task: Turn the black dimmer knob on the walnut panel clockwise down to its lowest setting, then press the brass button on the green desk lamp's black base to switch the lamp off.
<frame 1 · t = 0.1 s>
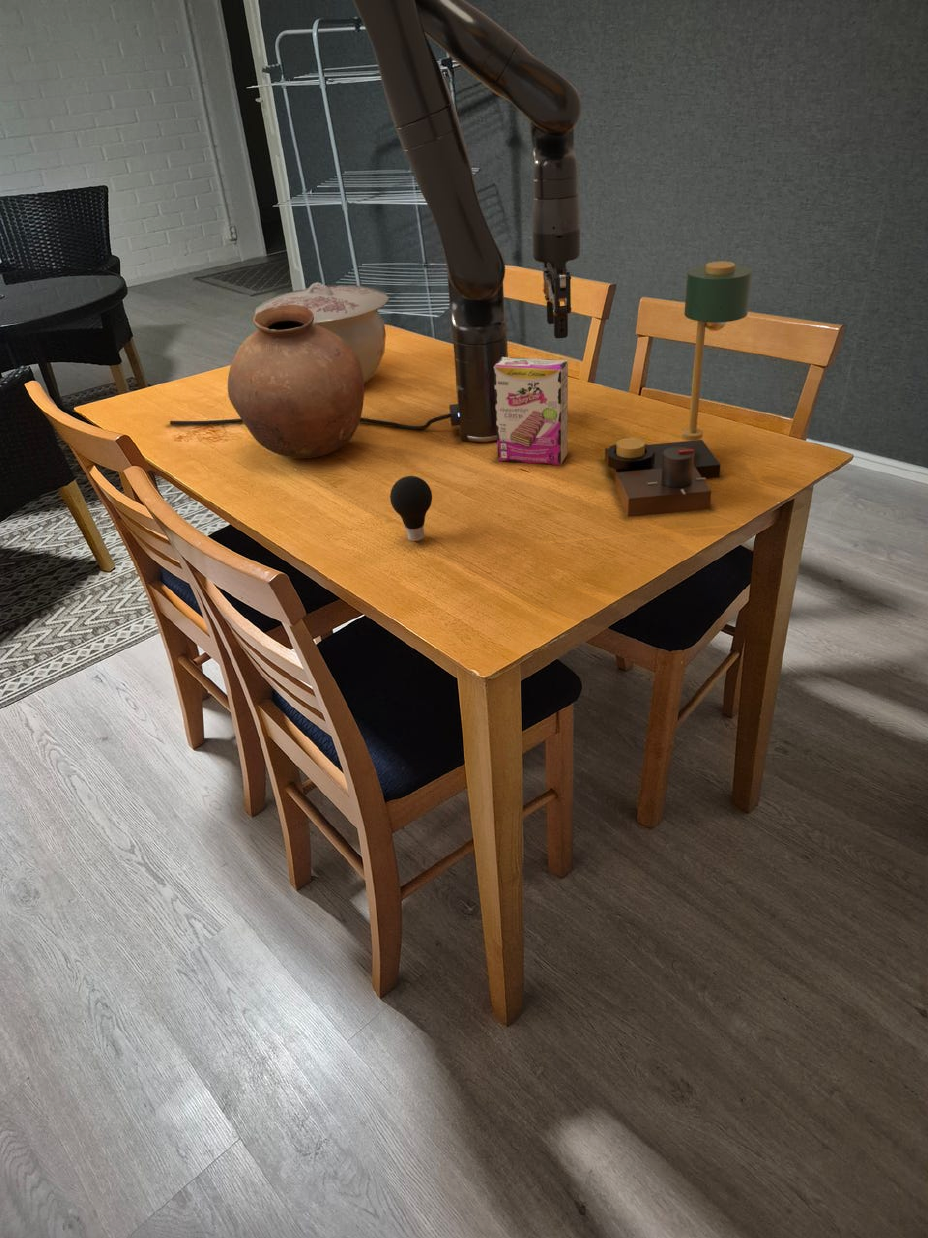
hand: (557, 330, 144), 17 cm above the table, tool pointing down, fingers open, 8 cm apart
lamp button: (630, 448, 133), point 4 cm above the table, slide at 0.1 cm
lamp base: (660, 468, 136), on the table
dimmer panel: (661, 499, 127), on the table
pottery: (309, 452, 153), on the table
desk lamp: (690, 459, 138), resting on lamp base
chamber pot: (334, 382, 183), on the table
dimmer knob: (677, 466, 124), point 5 cm above the table, hinge at 0.0°
candy bar box: (533, 459, 143), on the table
light bulb: (416, 542, 122), on the table
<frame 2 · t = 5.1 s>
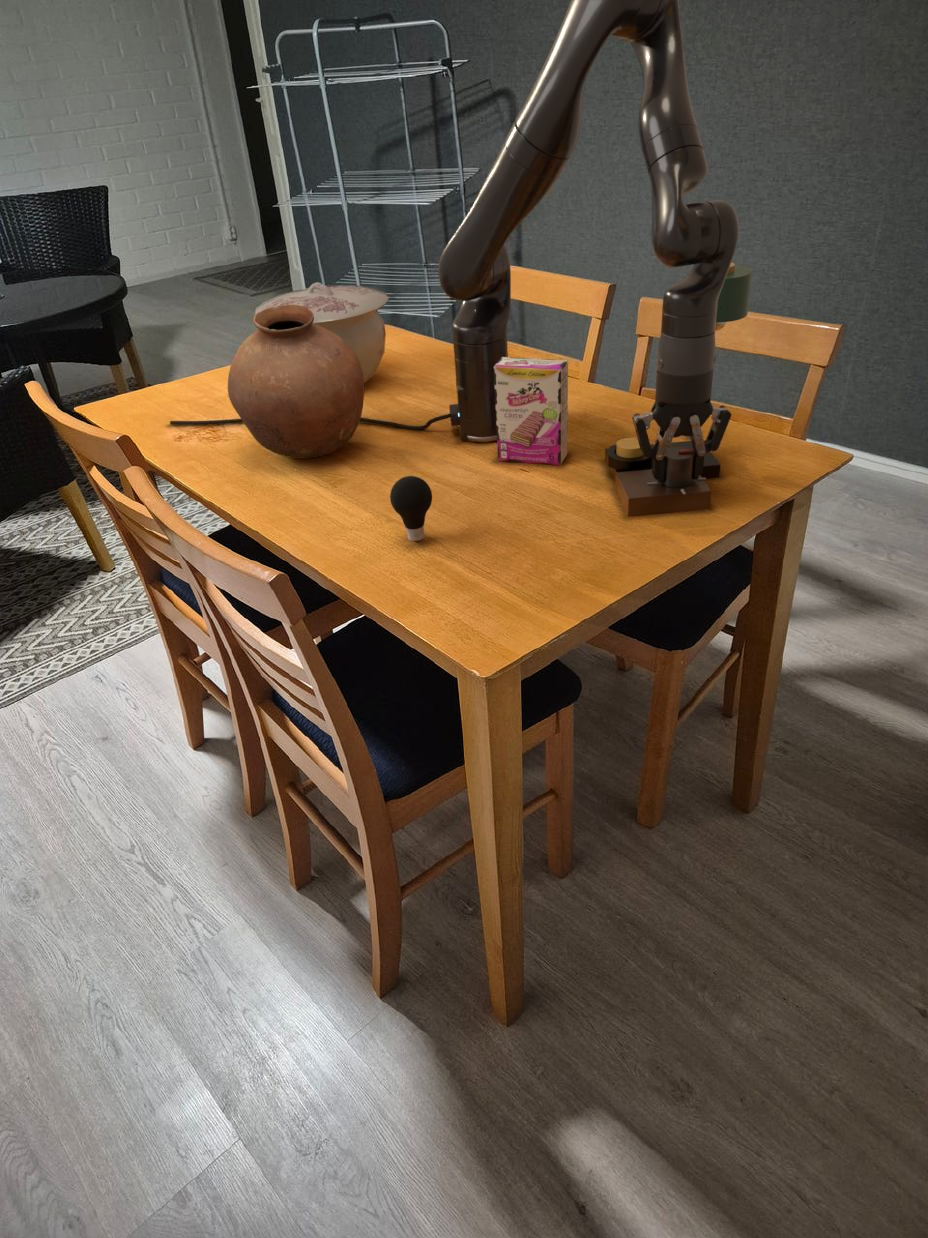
hand: (676, 478, 125), 4 cm above the table, tool pointing down, fingers closed on dimmer knob, 4 cm apart
dimmer knob: (677, 466, 124), point 5 cm above the table, hinge at 0.1°, touching gripper
everything else where it was.
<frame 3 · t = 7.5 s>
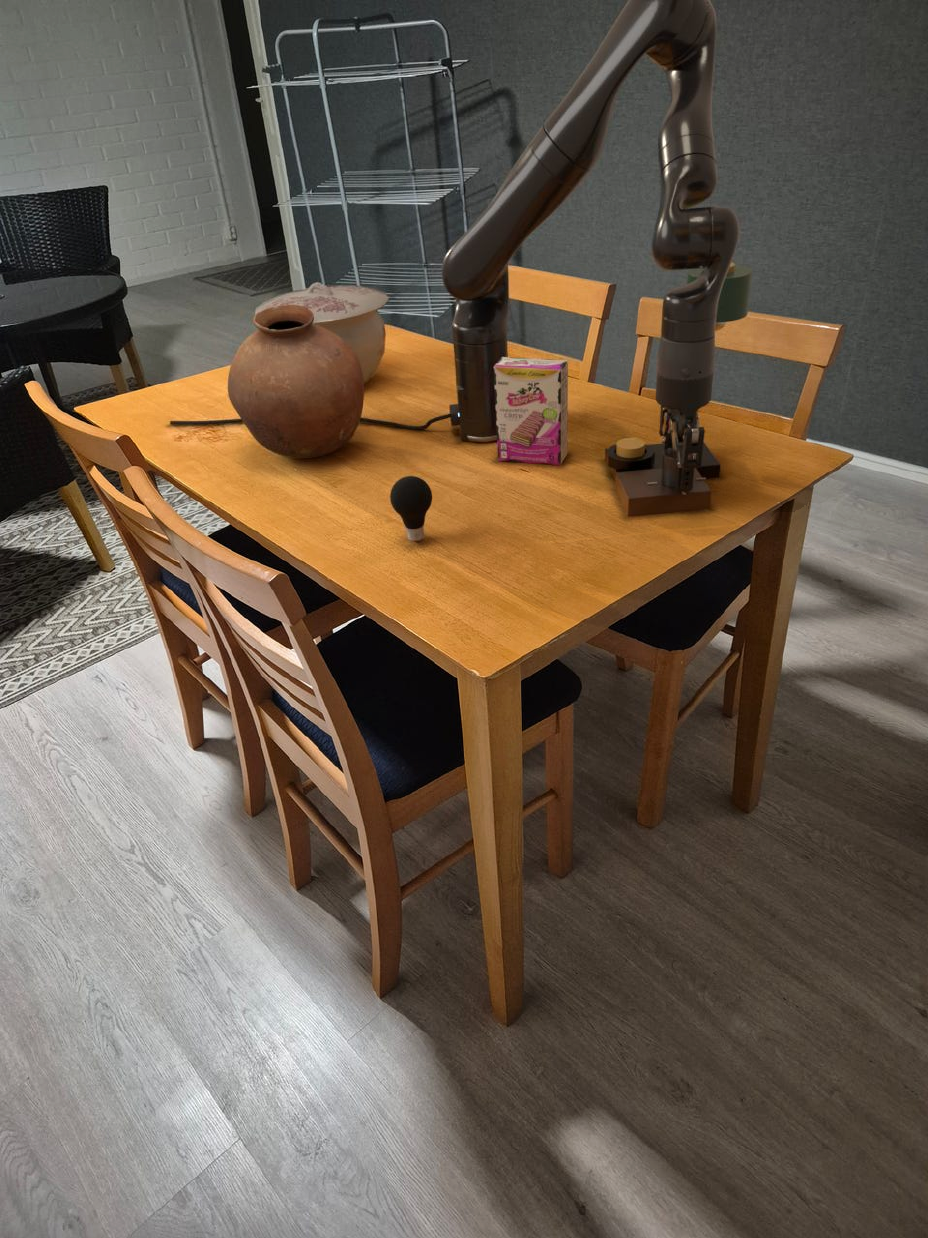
hand: (677, 478, 125), 3 cm above the table, tool pointing down, fingers open, 7 cm apart
dimmer knob: (677, 466, 124), point 5 cm above the table, hinge at -93.2°
everything else where it was.
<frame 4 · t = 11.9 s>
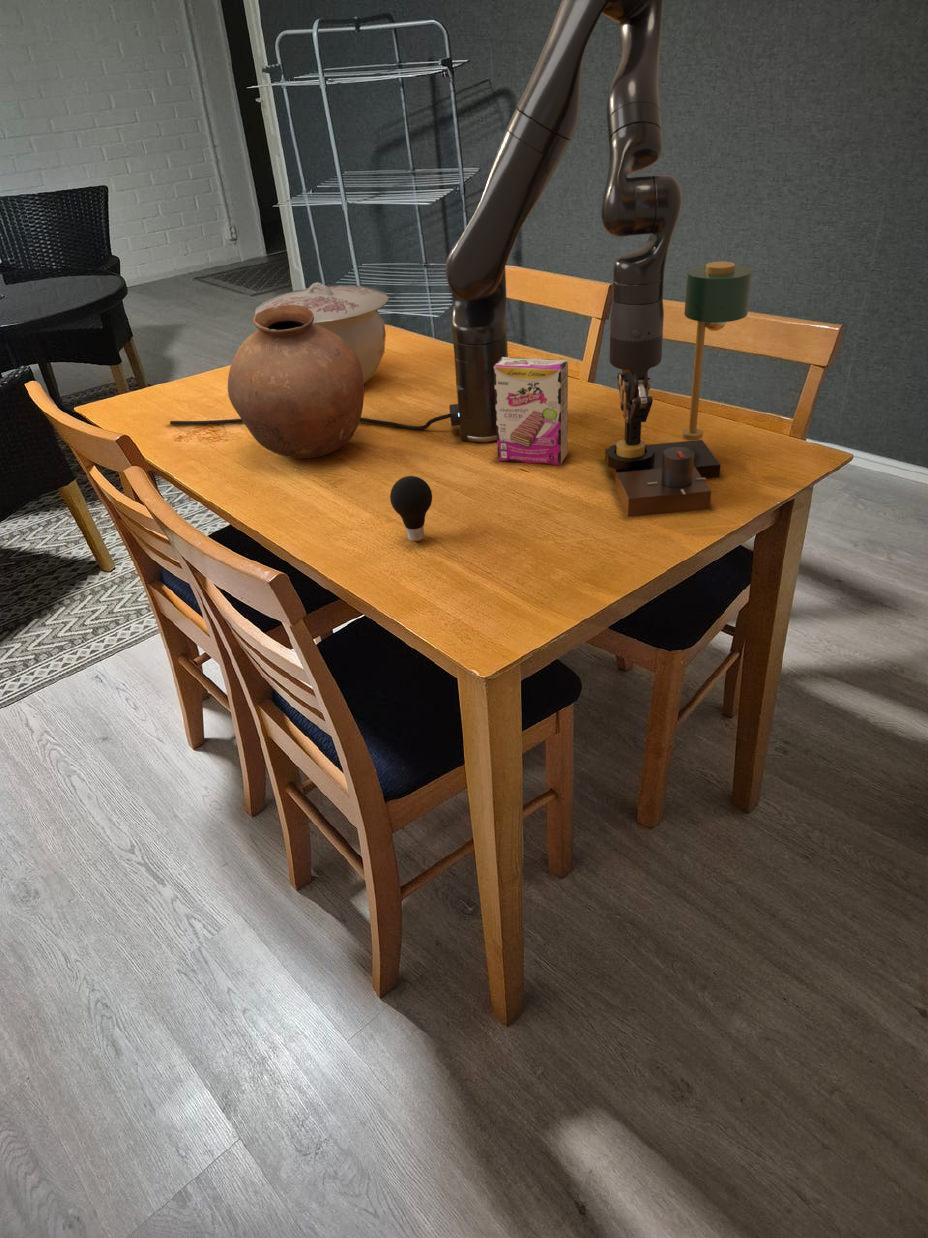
hand: (632, 442, 132), 5 cm above the table, tool pointing down, fingers closed
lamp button: (630, 448, 133), point 4 cm above the table, slide at 0.0 cm, touching gripper
everything else where it was.
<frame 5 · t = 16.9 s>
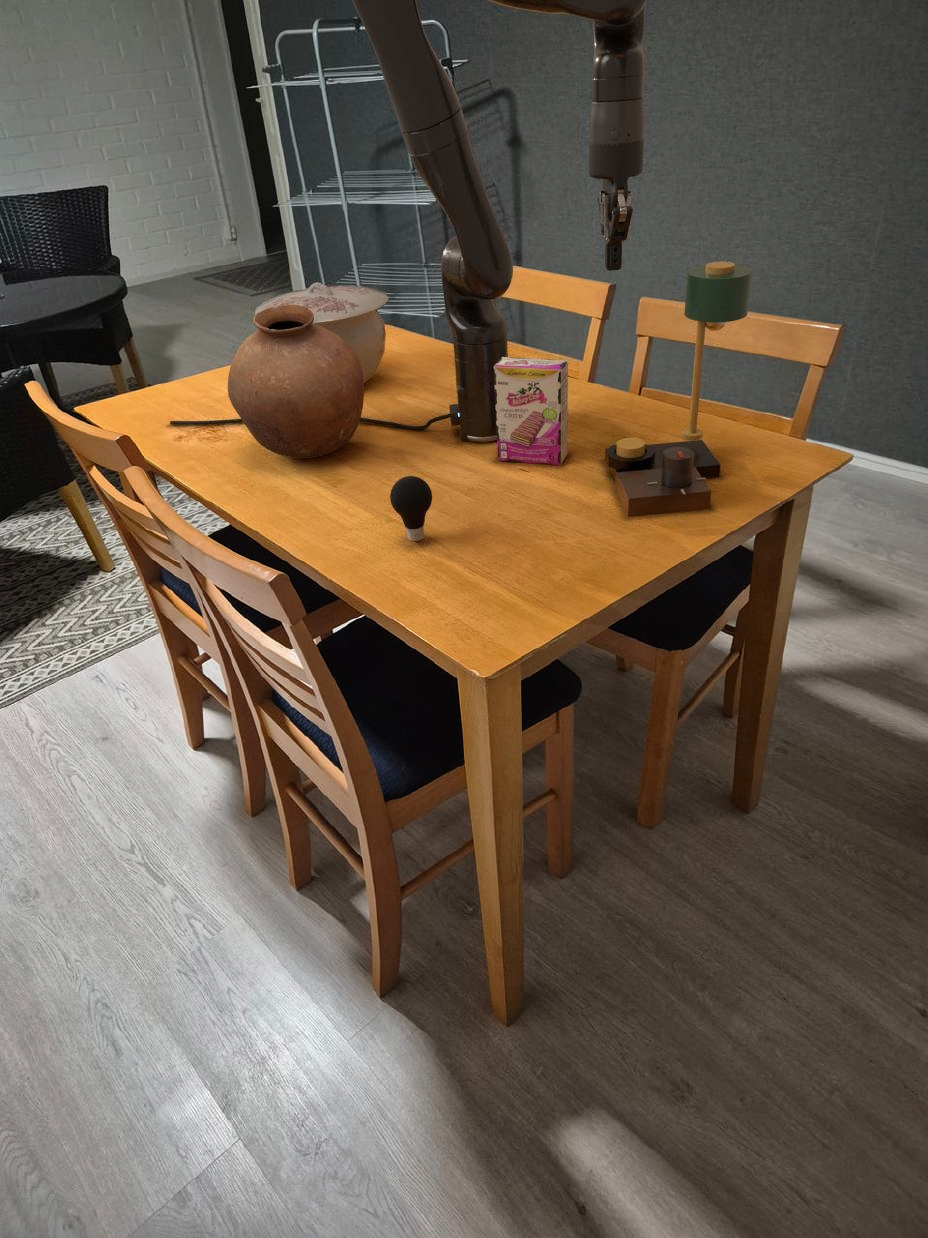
hand: (613, 268, 127), 29 cm above the table, tool pointing down, fingers closed
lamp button: (630, 448, 133), point 4 cm above the table, slide at 0.1 cm
everything else where it was.
at the end: dimmer knob at -93° (first picture: +0°); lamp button pushed in 1.1 cm at the most during the clip, back to where it started at the end; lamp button slide at 0.1 cm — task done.
